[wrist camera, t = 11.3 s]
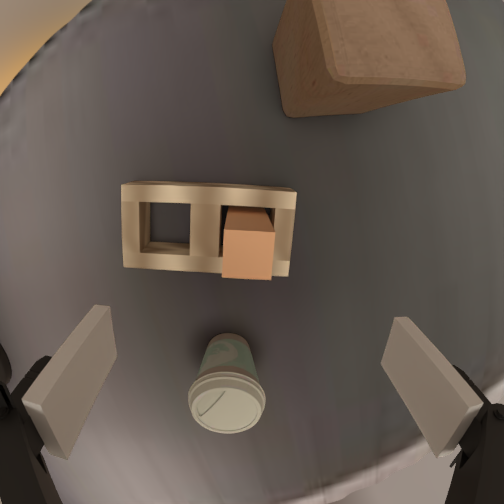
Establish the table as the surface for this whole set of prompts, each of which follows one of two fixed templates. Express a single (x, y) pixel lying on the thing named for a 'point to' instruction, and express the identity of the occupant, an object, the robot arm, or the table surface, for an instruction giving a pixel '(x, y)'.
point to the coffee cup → (227, 387)
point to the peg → (248, 244)
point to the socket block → (200, 223)
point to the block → (364, 54)
